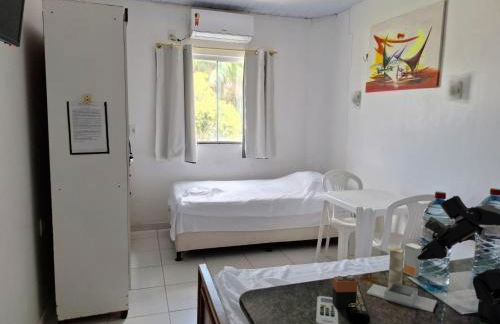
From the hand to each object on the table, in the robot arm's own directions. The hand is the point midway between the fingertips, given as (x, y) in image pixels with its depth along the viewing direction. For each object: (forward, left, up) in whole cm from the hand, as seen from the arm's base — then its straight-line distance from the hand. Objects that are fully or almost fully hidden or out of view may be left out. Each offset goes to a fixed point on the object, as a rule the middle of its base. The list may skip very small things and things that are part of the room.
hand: (420, 254), depth 126 cm
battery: (+18, +26, -14) cm, 34 cm away
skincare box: (+5, -16, -14) cm, 22 cm away
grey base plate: (+4, +9, -14) cm, 17 cm away
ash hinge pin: (+8, 0, -14) cm, 16 cm away
